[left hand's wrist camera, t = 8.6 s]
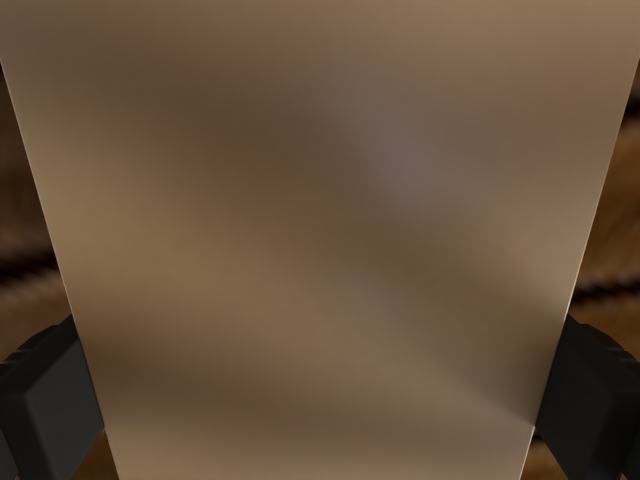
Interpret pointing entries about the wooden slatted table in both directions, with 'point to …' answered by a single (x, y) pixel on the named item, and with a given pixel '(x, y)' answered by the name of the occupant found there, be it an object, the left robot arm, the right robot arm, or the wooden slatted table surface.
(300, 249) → the cabinet
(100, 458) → the wooden slatted table surface
